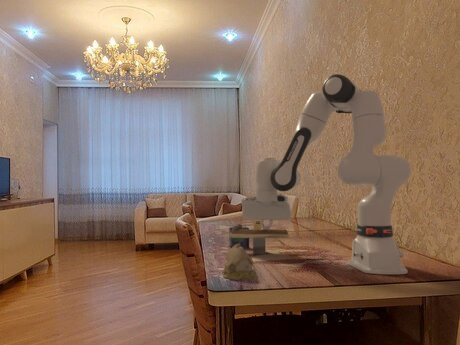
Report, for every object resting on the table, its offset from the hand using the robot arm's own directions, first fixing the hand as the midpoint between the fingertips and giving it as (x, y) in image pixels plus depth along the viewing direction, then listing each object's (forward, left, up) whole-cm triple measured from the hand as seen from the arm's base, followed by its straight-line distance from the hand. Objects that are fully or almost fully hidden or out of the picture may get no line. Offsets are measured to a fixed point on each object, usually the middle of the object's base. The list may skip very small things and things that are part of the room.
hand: (266, 230), depth 168 cm
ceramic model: (-39, +10, -10) cm, 42 cm away
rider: (0, +4, -1) cm, 4 cm away
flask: (+13, +12, -9) cm, 20 cm away
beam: (0, +3, -9) cm, 10 cm away
